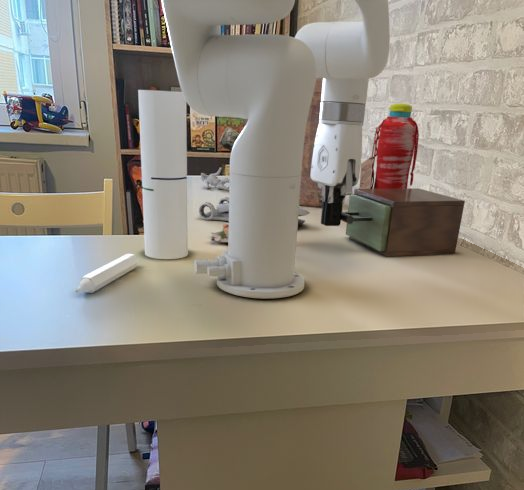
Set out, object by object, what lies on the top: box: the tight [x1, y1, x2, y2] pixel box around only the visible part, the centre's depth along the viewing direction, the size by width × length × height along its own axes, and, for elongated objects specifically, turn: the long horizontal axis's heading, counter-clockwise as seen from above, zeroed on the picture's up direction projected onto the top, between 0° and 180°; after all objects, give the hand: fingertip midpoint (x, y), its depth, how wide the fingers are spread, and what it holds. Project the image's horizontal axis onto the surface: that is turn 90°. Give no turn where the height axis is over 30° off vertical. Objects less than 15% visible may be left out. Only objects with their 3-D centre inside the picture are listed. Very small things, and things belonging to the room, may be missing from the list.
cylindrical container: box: [137, 89, 189, 260], centre depth 89 cm, size 7×7×25 cm
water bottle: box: [358, 102, 420, 189], centre depth 119 cm, size 12×8×25 cm, turn 66°
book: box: [242, 78, 323, 209], centre depth 143 cm, size 25×9×30 cm, turn 73°
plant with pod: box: [210, 126, 241, 243], centre depth 101 cm, size 8×11×20 cm
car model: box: [198, 196, 311, 225], centre depth 121 cm, size 11×24×5 cm, turn 65°
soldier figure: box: [200, 167, 230, 191], centre depth 164 cm, size 8×5×12 cm
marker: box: [75, 253, 139, 294], centre depth 78 cm, size 3×2×16 cm
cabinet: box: [348, 187, 466, 258], centre depth 106 cm, size 15×15×10 cm
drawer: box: [341, 193, 391, 251], centre depth 104 cm, size 19×13×8 cm
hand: (330, 224), depth 101 cm, fingers closed
